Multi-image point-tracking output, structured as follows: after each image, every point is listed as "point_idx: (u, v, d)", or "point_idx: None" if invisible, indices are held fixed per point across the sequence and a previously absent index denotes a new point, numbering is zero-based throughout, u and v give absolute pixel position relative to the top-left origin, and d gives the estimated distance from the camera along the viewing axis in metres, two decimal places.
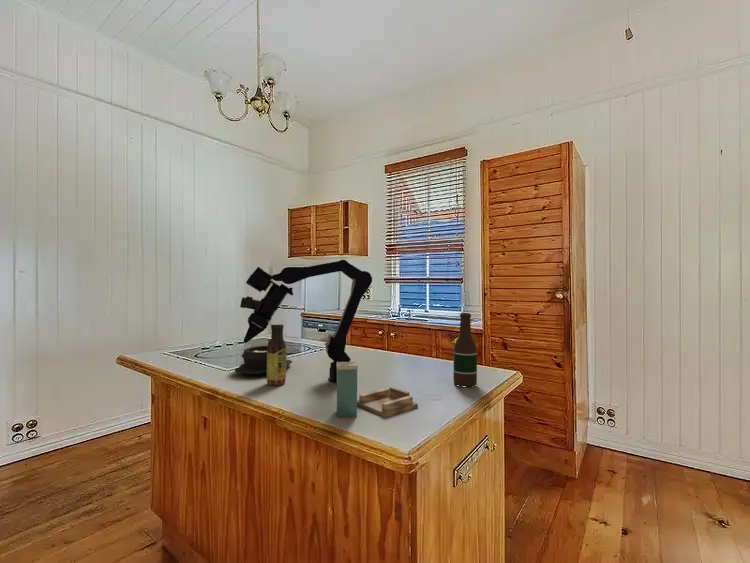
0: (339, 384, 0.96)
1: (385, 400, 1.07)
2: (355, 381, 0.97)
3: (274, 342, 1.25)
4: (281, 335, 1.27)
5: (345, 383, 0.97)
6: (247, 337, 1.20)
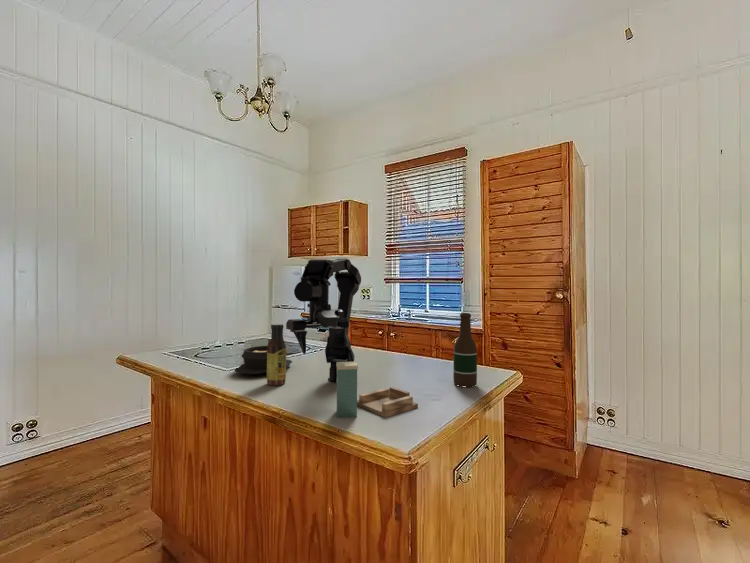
0: (339, 384, 0.96)
1: (385, 400, 1.07)
2: (355, 381, 0.97)
3: (274, 342, 1.25)
4: (281, 335, 1.27)
5: (345, 383, 0.97)
6: None
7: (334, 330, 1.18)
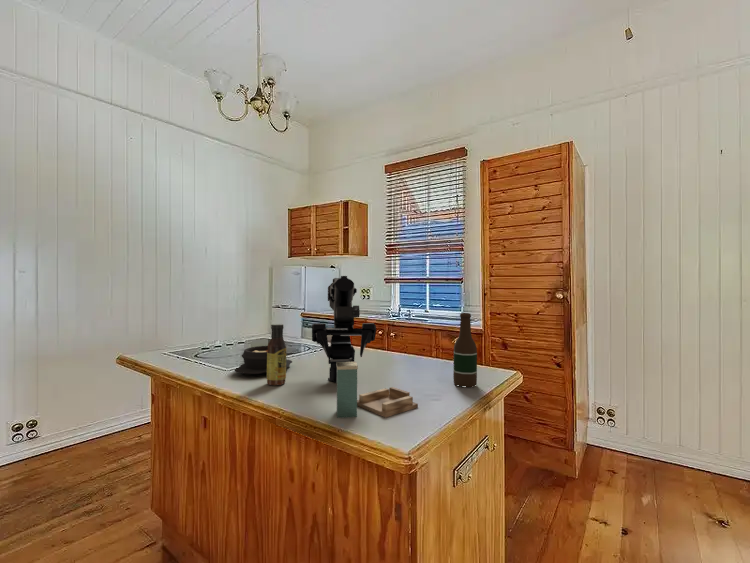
0: (339, 384, 0.96)
1: (385, 400, 1.07)
2: (355, 381, 0.97)
3: (274, 342, 1.25)
4: (281, 335, 1.27)
5: (345, 383, 0.97)
6: (363, 350, 1.09)
7: (361, 336, 1.11)
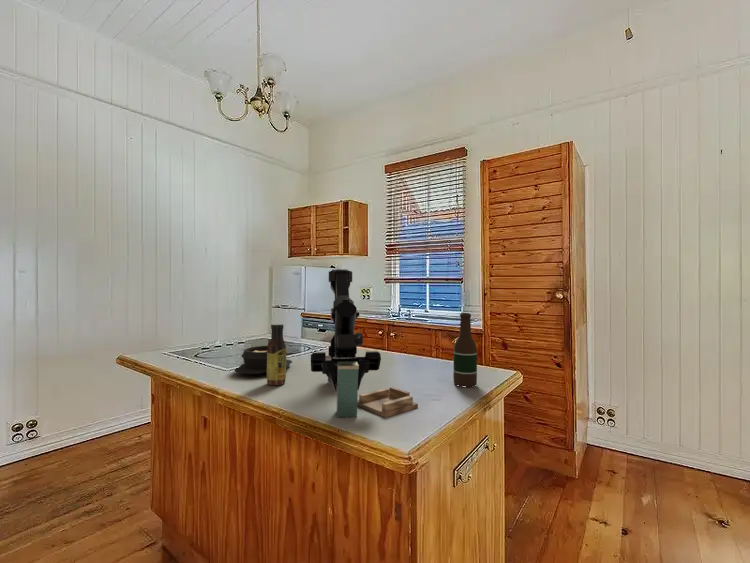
0: (340, 384, 0.96)
1: (385, 400, 1.07)
2: (356, 381, 0.97)
3: (274, 342, 1.25)
4: (281, 335, 1.27)
5: (345, 382, 0.97)
6: (360, 382, 0.99)
7: None
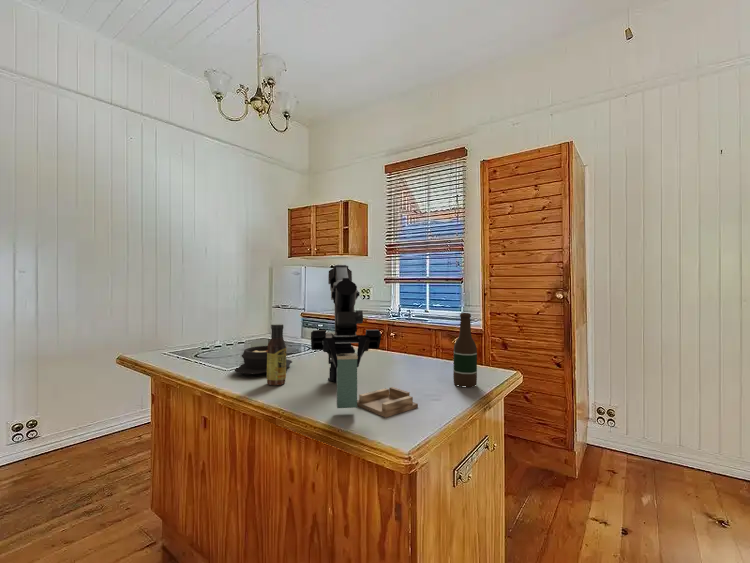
0: (339, 374, 0.96)
1: (385, 400, 1.07)
2: (355, 371, 0.97)
3: (274, 342, 1.25)
4: (281, 335, 1.27)
5: (345, 373, 0.97)
6: (360, 359, 0.99)
7: None
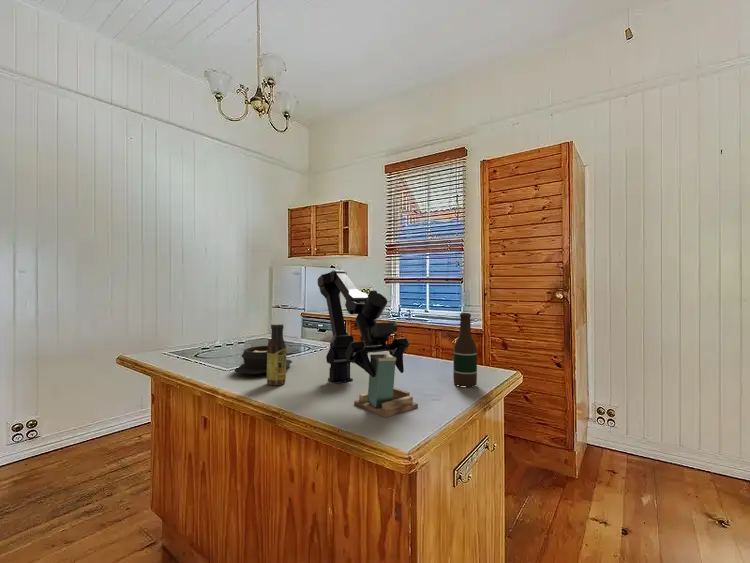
0: (380, 375, 1.00)
1: None
2: (393, 372, 1.02)
3: (274, 342, 1.25)
4: (281, 335, 1.27)
5: (384, 374, 1.01)
6: None
7: (396, 351, 1.10)
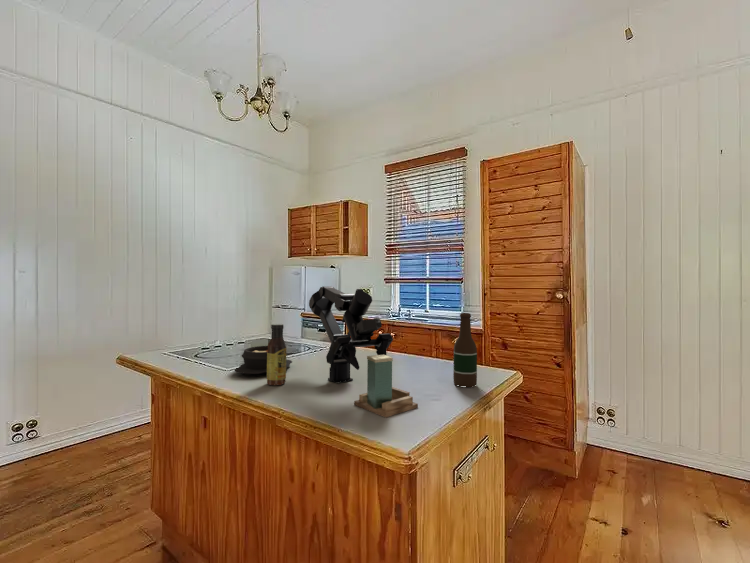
0: (377, 377, 1.00)
1: None
2: (390, 372, 1.02)
3: (274, 342, 1.25)
4: (281, 335, 1.27)
5: (381, 374, 1.01)
6: None
7: (380, 346, 1.18)
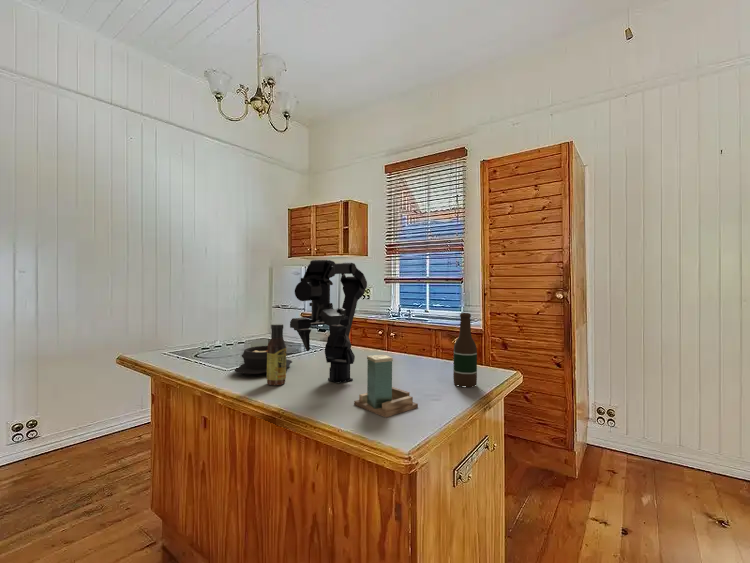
0: (377, 377, 1.00)
1: None
2: (390, 372, 1.02)
3: (274, 342, 1.25)
4: (281, 335, 1.27)
5: (381, 375, 1.01)
6: None
7: (335, 328, 1.22)
